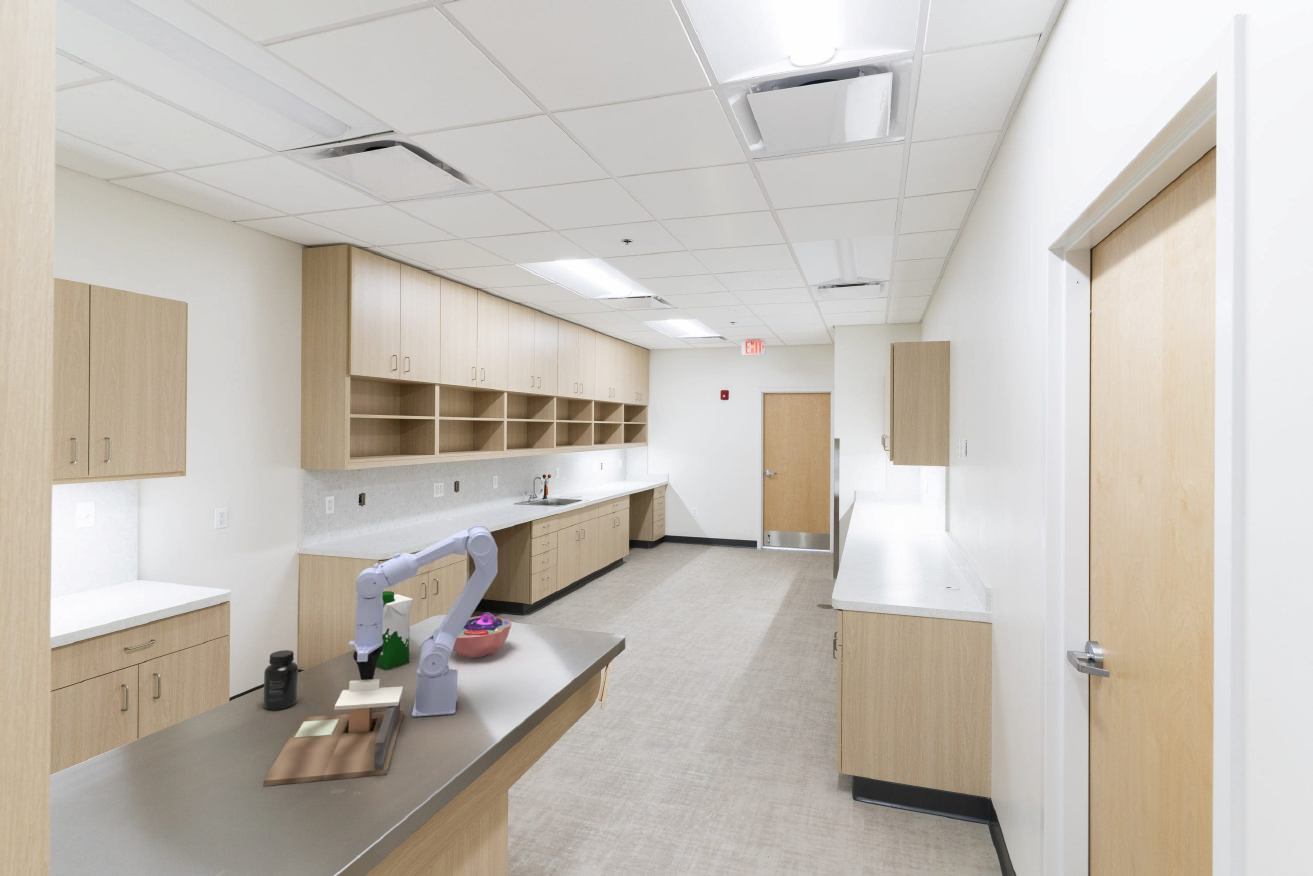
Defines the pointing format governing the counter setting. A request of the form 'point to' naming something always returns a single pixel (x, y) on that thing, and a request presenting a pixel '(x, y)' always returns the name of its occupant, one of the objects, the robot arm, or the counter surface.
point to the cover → (368, 695)
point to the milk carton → (395, 630)
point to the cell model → (482, 636)
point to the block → (360, 720)
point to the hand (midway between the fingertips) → (367, 681)
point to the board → (336, 749)
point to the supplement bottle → (280, 681)
